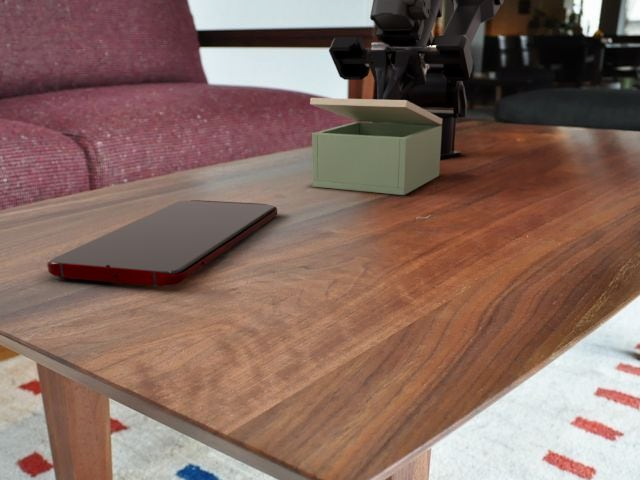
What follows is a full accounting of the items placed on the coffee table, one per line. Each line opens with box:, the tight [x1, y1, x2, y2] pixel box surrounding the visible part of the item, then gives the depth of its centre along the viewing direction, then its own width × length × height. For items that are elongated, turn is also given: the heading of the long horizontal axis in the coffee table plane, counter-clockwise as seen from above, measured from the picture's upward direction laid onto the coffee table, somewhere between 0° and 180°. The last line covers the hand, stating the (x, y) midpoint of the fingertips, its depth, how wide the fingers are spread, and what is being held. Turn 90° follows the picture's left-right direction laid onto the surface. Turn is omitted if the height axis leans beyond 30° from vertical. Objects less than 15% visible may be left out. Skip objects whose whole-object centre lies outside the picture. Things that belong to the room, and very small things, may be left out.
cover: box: [309, 97, 442, 125], centre depth 86 cm, size 14×13×1 cm
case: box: [311, 121, 442, 196], centre depth 88 cm, size 14×13×7 cm
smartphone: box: [46, 199, 278, 287], centre depth 63 cm, size 12×2×25 cm
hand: (381, 107), depth 87 cm, fingers closed
